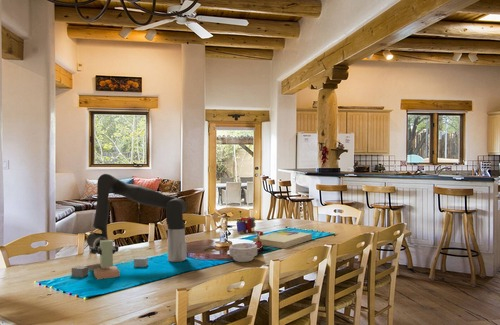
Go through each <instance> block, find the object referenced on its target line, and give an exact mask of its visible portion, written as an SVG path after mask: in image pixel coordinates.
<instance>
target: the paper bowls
mask: <svg viewBox="0 0 500 325" xmlns="http://www.w3.org/2000/svg"><path fill="white" fill-rule="evenodd" d="M228 248H229V252H228V253H229V256H230V257H232V259H233V260H234V261H236V262H237V263H238V262H239V263H247V262H252V261H253V260H254V258H255V256H257V255H258V250H257V245H255V244H253V243H249V242H240V243H233V244H230V245H229V247H228Z"/></svg>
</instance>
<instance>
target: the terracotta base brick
mask: <svg viewBox="0 0 500 325" xmlns="http://www.w3.org/2000/svg"><path fill="white" fill-rule="evenodd" d="M120 272H121V271H120V270H119V268H118V267H117V266H116V265H113V267H104V268H101V267H99V268H94V269H93V275H94V277H95V279H96V278H97V279H96V280H102V279H103V278H104V279H110V278H116V277H118V276H119V277H121V276H120ZM119 277H118V278H119ZM104 279H103V280H104Z"/></svg>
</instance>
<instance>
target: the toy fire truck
mask: <svg viewBox="0 0 500 325" xmlns="http://www.w3.org/2000/svg"><path fill="white" fill-rule="evenodd" d="M256 235H257V236H256V237H257V240H258V241H257V242H256V243H255V245H257V248H260V247H261V245H262V241H260V236H263V235H264V231H257V232H256ZM262 246H263V245H262Z"/></svg>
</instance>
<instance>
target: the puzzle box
mask: <svg viewBox="0 0 500 325" xmlns="http://www.w3.org/2000/svg"><path fill="white" fill-rule="evenodd" d="M311 240H313V233H309V232H308V233H306V232H300V231H291V230H290V231H289V230H279V231H275V232H270V233H267V234H266V233H265V234H263V236H260V241H262V244H263V245H262V246H264V247H270V248H271V247H272V248H278V249H286V248H290V247H292V246H296V245H299V244H302V243H305V242H308V241H311ZM252 241H253V242H257V241H258V240H257V236H256V237H252ZM253 242H252V243H253Z"/></svg>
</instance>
